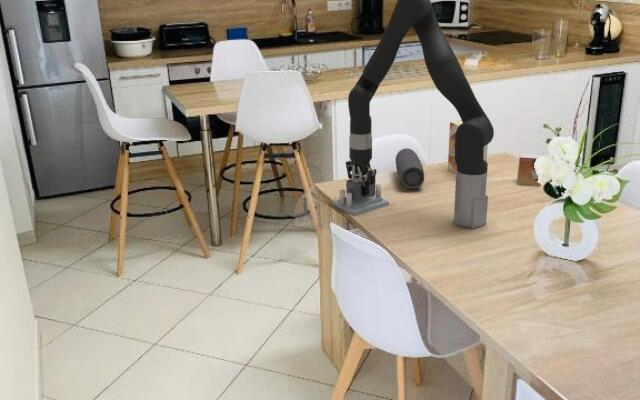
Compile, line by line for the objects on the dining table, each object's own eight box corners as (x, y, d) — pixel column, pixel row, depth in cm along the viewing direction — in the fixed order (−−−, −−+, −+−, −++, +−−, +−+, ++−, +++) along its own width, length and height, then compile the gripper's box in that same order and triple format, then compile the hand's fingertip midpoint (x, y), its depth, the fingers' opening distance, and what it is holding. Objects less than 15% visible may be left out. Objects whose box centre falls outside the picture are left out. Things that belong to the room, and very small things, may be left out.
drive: (375, 195, 219) (375, 177, 217) (354, 201, 214) (354, 183, 212) (366, 191, 222) (367, 174, 220) (346, 197, 217) (346, 180, 215)
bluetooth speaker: (425, 191, 229) (426, 165, 226) (399, 192, 230) (400, 165, 226) (418, 171, 250) (418, 146, 247) (394, 171, 251) (394, 147, 247)
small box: (516, 184, 234) (519, 157, 230) (517, 179, 239) (519, 152, 235) (540, 186, 231) (542, 158, 228) (539, 181, 236) (542, 154, 233)
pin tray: (388, 204, 219) (389, 187, 216) (354, 215, 211) (354, 197, 208) (366, 195, 228) (366, 178, 225) (332, 205, 220) (332, 187, 217)
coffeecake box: (446, 170, 251) (449, 121, 244) (461, 167, 253) (464, 119, 246) (470, 181, 238) (473, 130, 231) (486, 178, 241) (489, 127, 234)
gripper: (383, 148, 208) (383, 197, 214) (356, 138, 219) (356, 185, 225) (365, 152, 204) (365, 202, 210) (338, 142, 215) (339, 190, 221)
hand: (360, 193), depth 218 cm, fingers closed on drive, 4 cm apart
